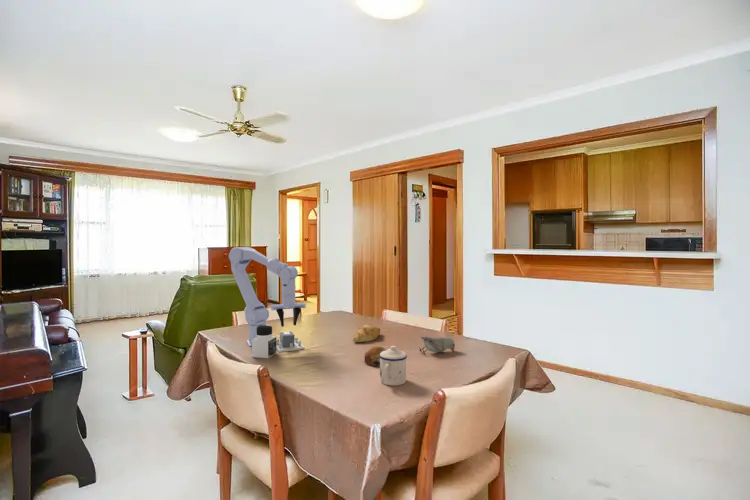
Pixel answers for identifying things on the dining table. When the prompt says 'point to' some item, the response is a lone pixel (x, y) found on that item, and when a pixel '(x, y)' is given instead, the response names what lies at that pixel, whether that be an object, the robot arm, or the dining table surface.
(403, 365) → the teacup with lid
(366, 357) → the bread roll
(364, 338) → the croissant
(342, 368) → the dining table surface
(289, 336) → the block
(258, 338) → the medicine bottle
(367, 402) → the dining table surface
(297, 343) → the white peg board
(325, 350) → the dining table surface
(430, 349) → the decorative bird
